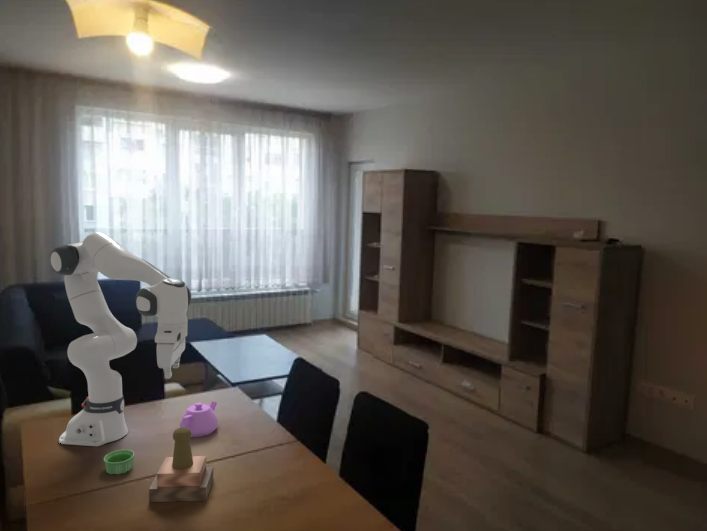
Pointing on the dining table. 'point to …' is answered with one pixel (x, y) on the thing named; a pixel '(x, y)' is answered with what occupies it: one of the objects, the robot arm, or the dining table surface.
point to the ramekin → (119, 461)
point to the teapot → (200, 419)
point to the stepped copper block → (182, 482)
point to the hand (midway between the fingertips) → (172, 372)
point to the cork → (182, 449)
